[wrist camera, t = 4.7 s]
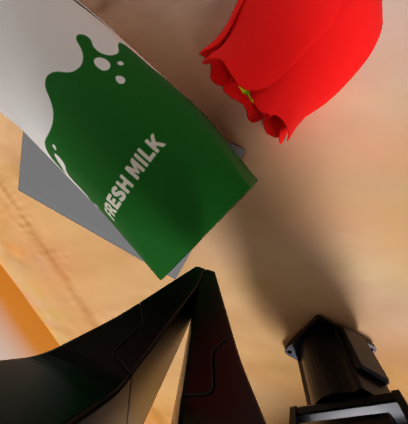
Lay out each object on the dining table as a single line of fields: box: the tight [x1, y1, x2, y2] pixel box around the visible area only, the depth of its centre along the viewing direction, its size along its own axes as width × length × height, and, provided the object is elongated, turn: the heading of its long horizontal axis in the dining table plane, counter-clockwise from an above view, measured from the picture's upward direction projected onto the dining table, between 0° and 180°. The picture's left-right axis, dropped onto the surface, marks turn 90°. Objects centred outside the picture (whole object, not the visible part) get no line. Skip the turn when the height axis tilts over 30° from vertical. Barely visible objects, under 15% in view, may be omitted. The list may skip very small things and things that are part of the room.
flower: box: [199, 0, 383, 144], centre depth 12 cm, size 8×8×8 cm
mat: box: [18, 131, 245, 279], centre depth 21 cm, size 16×22×1 cm
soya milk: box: [0, 0, 258, 280], centre depth 14 cm, size 9×9×20 cm
